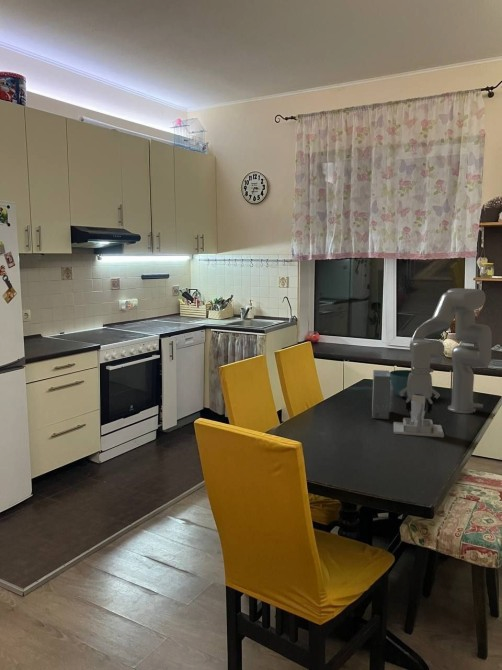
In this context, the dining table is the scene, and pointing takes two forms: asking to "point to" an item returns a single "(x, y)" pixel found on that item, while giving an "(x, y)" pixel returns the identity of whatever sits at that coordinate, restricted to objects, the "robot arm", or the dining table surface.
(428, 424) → the tray
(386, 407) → the hard drive box
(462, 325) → the robot arm
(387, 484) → the dining table surface
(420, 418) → the beer glass
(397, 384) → the teal bowl
